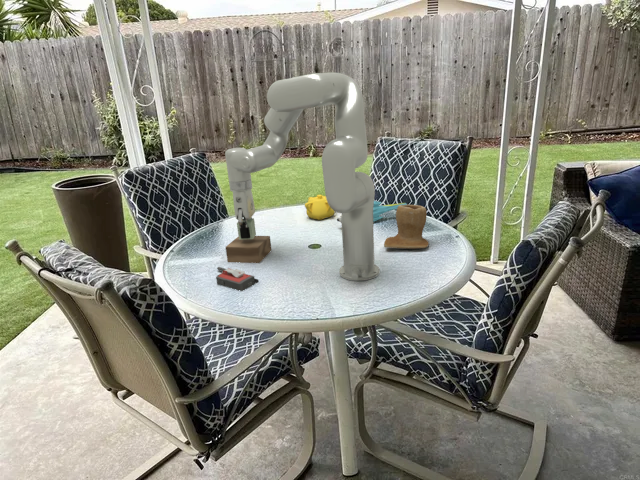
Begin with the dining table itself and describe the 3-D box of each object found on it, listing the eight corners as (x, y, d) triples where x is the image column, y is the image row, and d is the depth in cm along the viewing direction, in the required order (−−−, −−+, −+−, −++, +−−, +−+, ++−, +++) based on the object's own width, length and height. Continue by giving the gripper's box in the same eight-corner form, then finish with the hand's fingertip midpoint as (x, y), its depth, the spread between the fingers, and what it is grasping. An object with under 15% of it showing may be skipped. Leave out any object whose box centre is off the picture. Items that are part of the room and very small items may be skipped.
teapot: (310, 212, 207) (308, 191, 203) (337, 212, 205) (336, 190, 201) (304, 221, 194) (302, 199, 190) (333, 221, 192) (332, 198, 188)
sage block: (253, 239, 154) (250, 222, 152) (239, 239, 154) (236, 223, 152) (256, 234, 159) (254, 218, 157) (242, 234, 159) (240, 219, 157)
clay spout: (428, 240, 161) (428, 200, 156) (428, 252, 151) (429, 210, 146) (386, 240, 165) (385, 201, 160) (383, 252, 154) (382, 210, 149)
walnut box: (259, 264, 152) (257, 247, 150) (227, 262, 155) (225, 246, 153) (271, 251, 163) (269, 235, 161) (241, 250, 166) (239, 235, 164)
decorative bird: (329, 227, 185) (328, 205, 181) (386, 212, 199) (385, 192, 196) (348, 235, 173) (347, 212, 170) (407, 218, 187) (407, 197, 184)
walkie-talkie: (264, 282, 138) (220, 270, 149) (262, 269, 136) (218, 258, 148) (244, 293, 131) (200, 280, 143) (242, 280, 130) (198, 267, 141)
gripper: (245, 190, 142) (252, 243, 148) (256, 179, 158) (262, 227, 164) (223, 191, 143) (230, 244, 149) (236, 180, 159) (242, 228, 165)
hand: (247, 235), depth 156 cm, fingers closed on sage block, 5 cm apart
